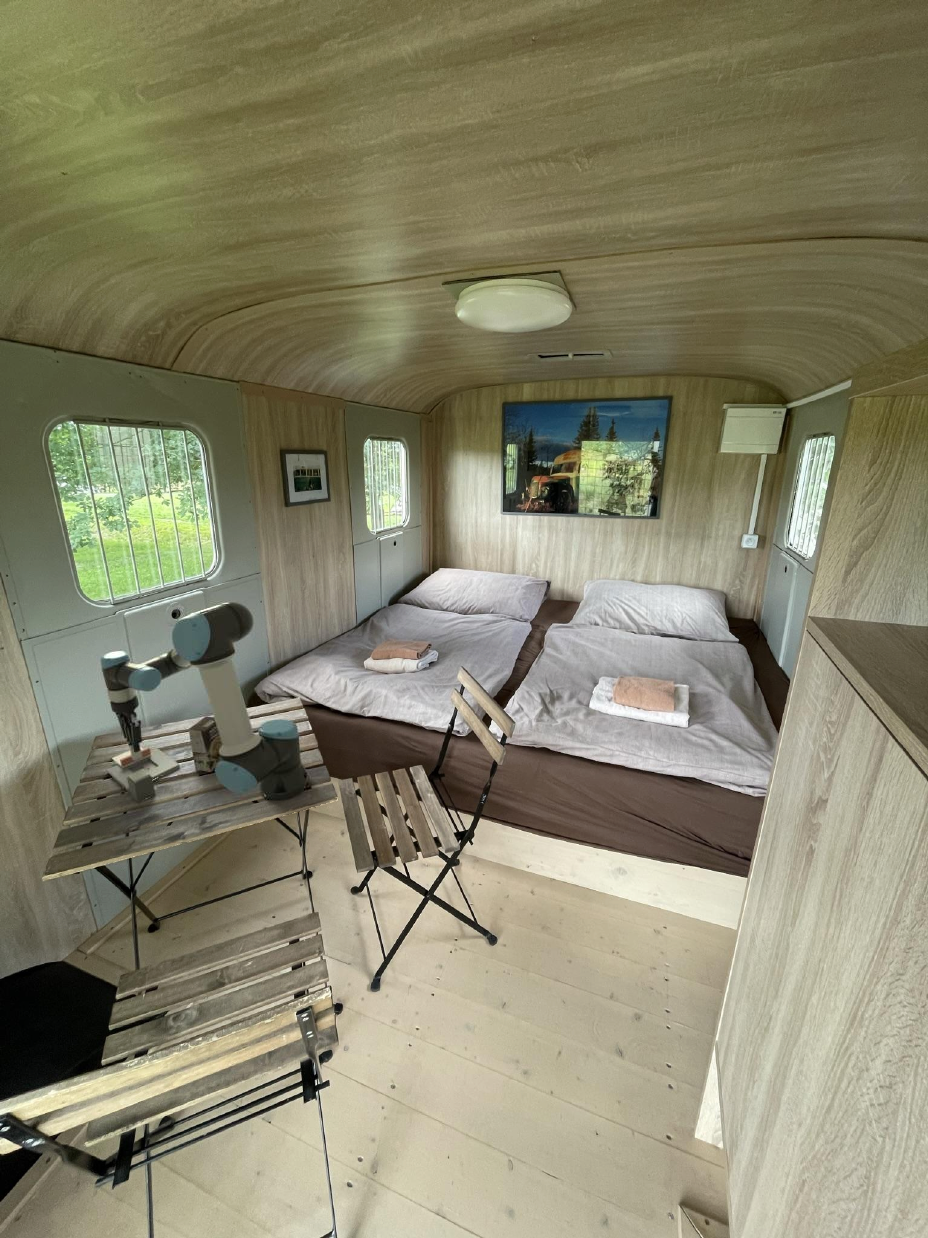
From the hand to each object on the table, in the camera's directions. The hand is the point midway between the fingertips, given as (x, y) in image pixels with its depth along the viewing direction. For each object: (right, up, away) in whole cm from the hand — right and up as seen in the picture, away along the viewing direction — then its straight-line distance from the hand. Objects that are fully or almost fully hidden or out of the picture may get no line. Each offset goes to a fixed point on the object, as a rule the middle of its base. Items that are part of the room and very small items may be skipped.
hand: (137, 758), depth 172 cm
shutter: (-4, -1, +3) cm, 5 cm away
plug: (+10, -9, -12) cm, 18 cm away
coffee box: (+23, -3, +4) cm, 24 cm away
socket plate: (+3, -4, -1) cm, 5 cm away
